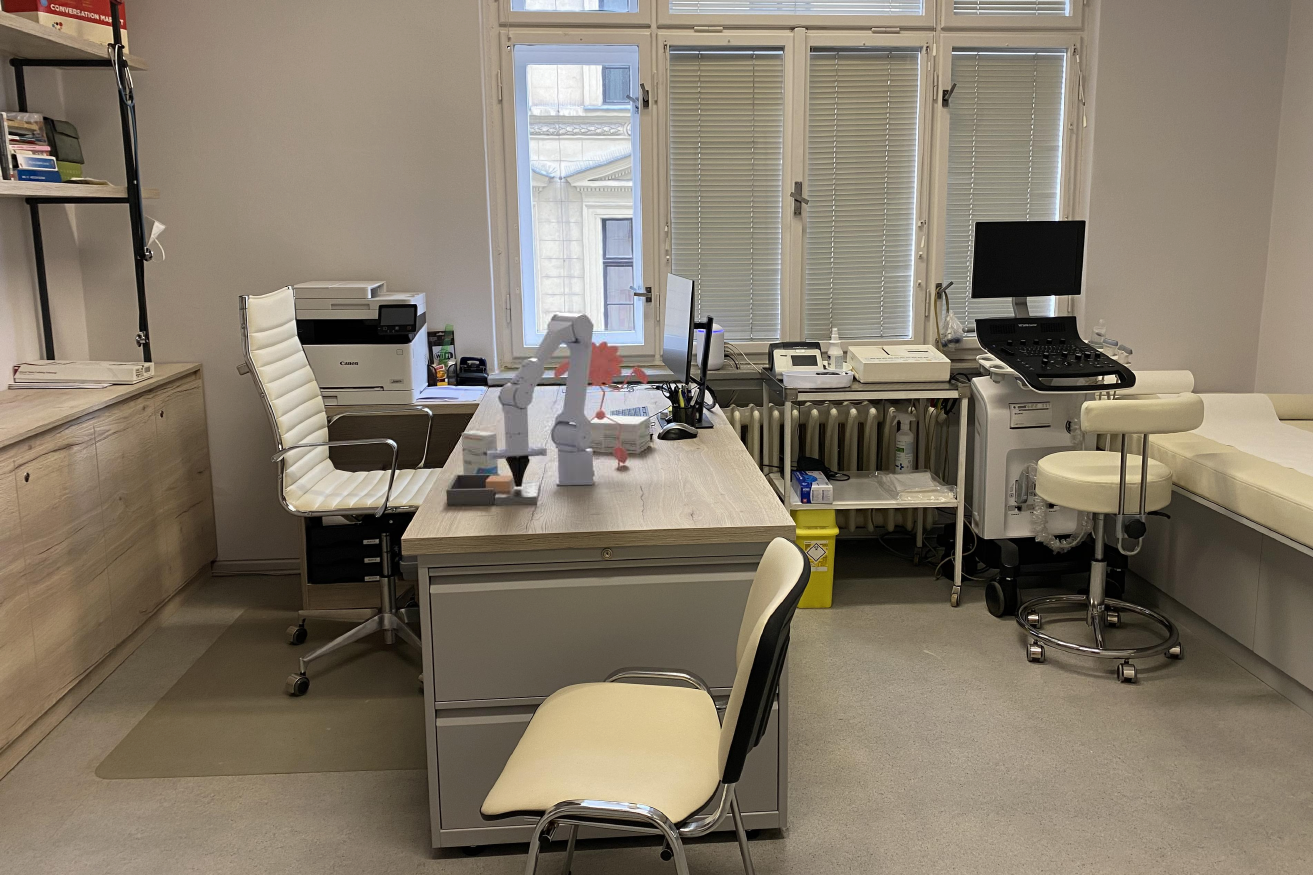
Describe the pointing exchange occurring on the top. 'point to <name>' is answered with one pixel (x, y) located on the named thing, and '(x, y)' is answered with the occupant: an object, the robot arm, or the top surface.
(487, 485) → the tile
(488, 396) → the top surface
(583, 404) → the robot arm
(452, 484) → the box
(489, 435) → the ink box
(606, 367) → the figurine
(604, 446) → the supplement box
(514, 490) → the grey flat board
